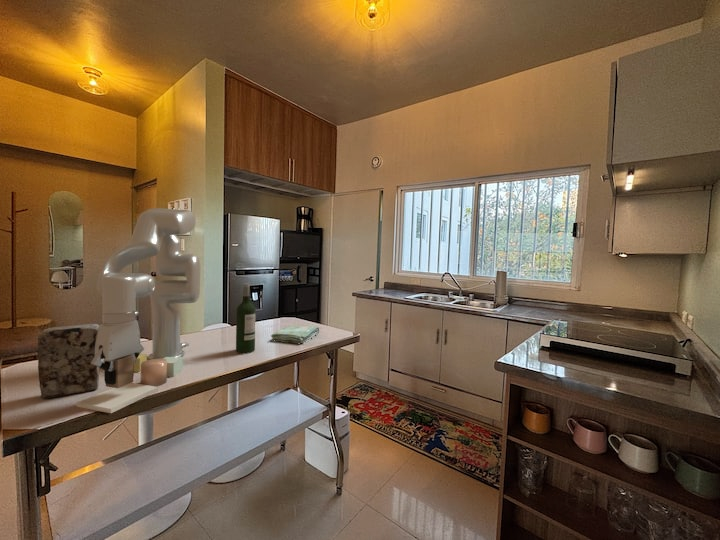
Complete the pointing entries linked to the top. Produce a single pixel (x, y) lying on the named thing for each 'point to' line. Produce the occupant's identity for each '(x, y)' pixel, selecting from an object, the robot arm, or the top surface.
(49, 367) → the stone block
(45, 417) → the top surface
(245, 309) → the wine bottle
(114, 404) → the cream board
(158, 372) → the peach rounded cube
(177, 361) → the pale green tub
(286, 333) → the towel
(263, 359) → the top surface
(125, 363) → the walnut block
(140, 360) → the mustard cube
